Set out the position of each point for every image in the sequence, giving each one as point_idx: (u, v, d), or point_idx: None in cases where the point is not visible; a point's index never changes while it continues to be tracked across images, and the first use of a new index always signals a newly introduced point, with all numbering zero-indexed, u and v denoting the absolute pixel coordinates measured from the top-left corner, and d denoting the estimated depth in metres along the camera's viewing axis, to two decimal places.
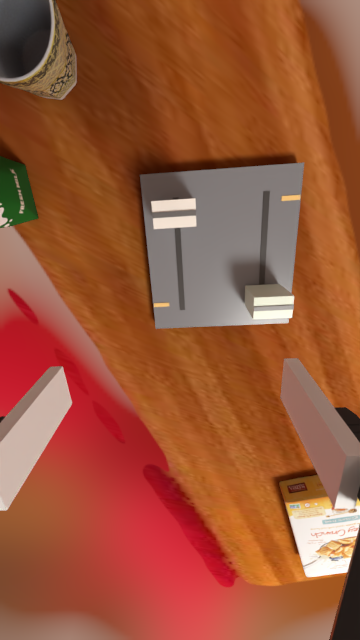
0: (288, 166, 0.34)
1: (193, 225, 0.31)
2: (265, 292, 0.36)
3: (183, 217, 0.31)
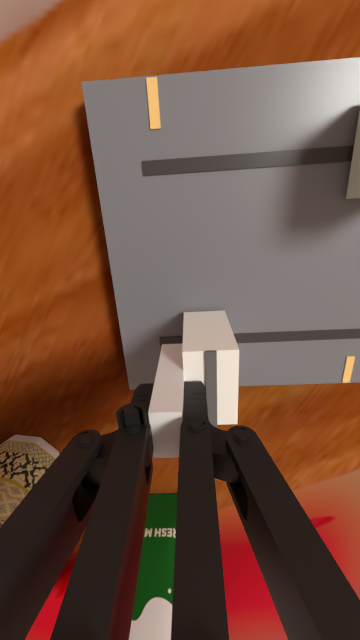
0: (92, 121, 0.16)
1: (236, 355, 0.14)
2: None
3: (218, 374, 0.15)
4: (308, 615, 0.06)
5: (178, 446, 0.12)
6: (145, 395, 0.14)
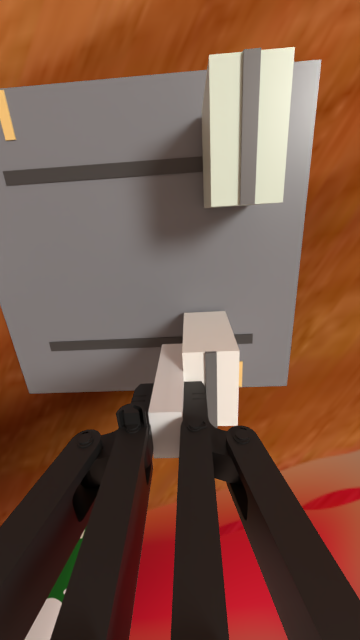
0: None
1: (236, 356, 0.14)
2: (207, 162, 0.13)
3: (218, 375, 0.15)
4: (308, 615, 0.06)
5: (178, 446, 0.12)
6: (145, 395, 0.14)
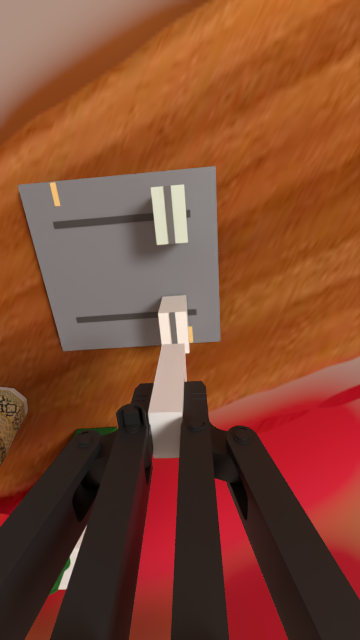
0: (25, 202, 0.31)
1: (185, 314, 0.28)
2: None
3: (177, 325, 0.29)
4: (308, 616, 0.06)
5: (178, 446, 0.12)
6: (145, 395, 0.14)
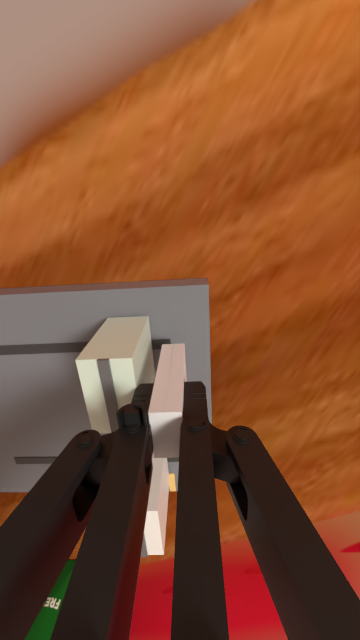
0: None
1: (156, 514, 0.18)
2: None
3: None
4: (308, 615, 0.06)
5: (178, 446, 0.12)
6: (145, 395, 0.14)
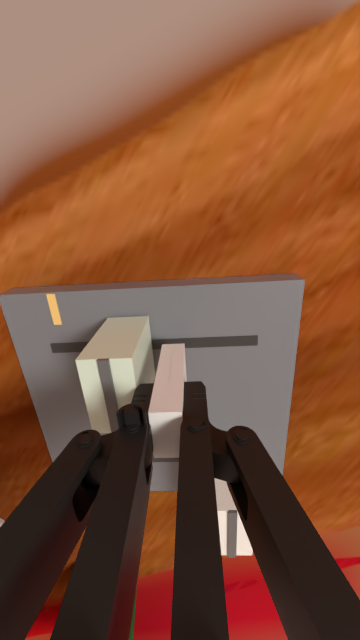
0: (9, 318, 0.20)
1: None
2: None
3: (238, 525, 0.19)
4: (308, 615, 0.06)
5: (178, 446, 0.12)
6: (145, 395, 0.14)
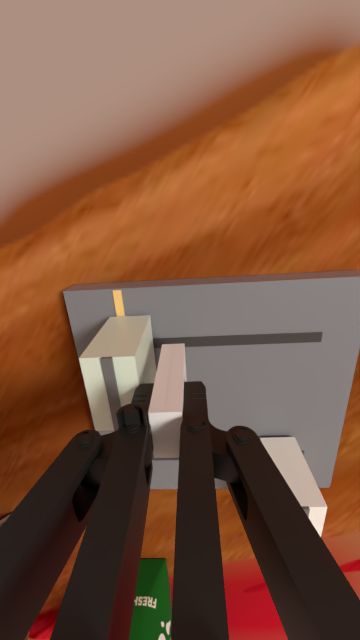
0: (72, 315, 0.20)
1: (324, 510, 0.18)
2: None
3: None
4: (308, 616, 0.06)
5: (178, 446, 0.12)
6: (145, 395, 0.14)
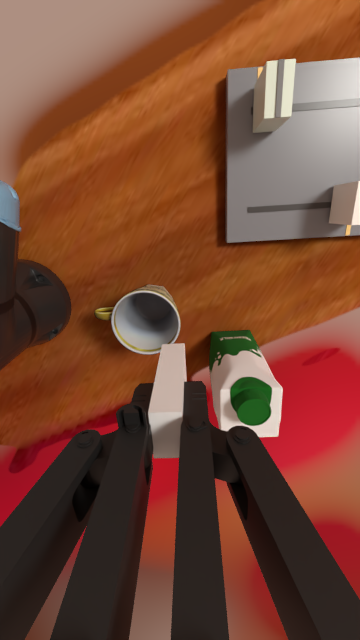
0: (230, 88, 0.34)
1: None
2: (260, 104, 0.31)
3: None
4: (308, 615, 0.06)
5: (178, 446, 0.12)
6: (145, 395, 0.14)
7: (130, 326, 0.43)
